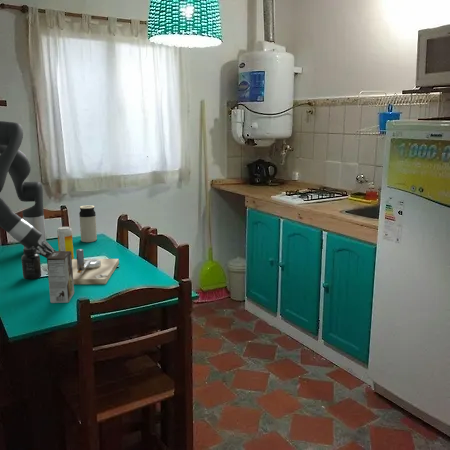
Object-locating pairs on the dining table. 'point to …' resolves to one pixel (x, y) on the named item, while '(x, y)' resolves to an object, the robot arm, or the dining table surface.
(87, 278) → the wooden cutting board
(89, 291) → the dining table surface
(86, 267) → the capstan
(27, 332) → the dining table surface
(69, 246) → the yellow white bottle
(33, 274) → the supplement bottle
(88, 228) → the travel mug
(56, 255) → the coffee box
